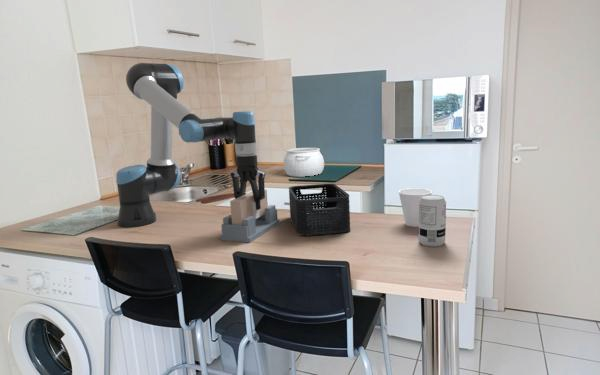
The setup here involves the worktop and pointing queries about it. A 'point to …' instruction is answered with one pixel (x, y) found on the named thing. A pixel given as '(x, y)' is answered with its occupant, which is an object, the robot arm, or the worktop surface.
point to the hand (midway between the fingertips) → (251, 217)
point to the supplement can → (432, 220)
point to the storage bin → (319, 210)
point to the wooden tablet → (215, 198)
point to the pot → (303, 162)
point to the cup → (412, 204)
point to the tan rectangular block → (245, 208)
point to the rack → (249, 226)
